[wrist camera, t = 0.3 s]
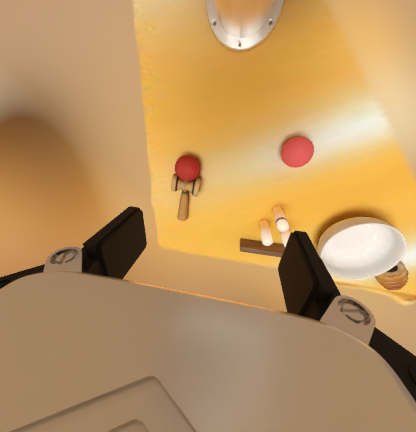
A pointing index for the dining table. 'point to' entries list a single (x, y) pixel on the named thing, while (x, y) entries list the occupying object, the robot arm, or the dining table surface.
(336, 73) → the dining table surface
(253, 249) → the wall
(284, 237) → the pin
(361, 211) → the dining table surface
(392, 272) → the pastry
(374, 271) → the cereal bowl
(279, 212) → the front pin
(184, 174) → the kendama
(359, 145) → the dining table surface
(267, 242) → the pin
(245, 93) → the dining table surface
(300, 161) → the ball
